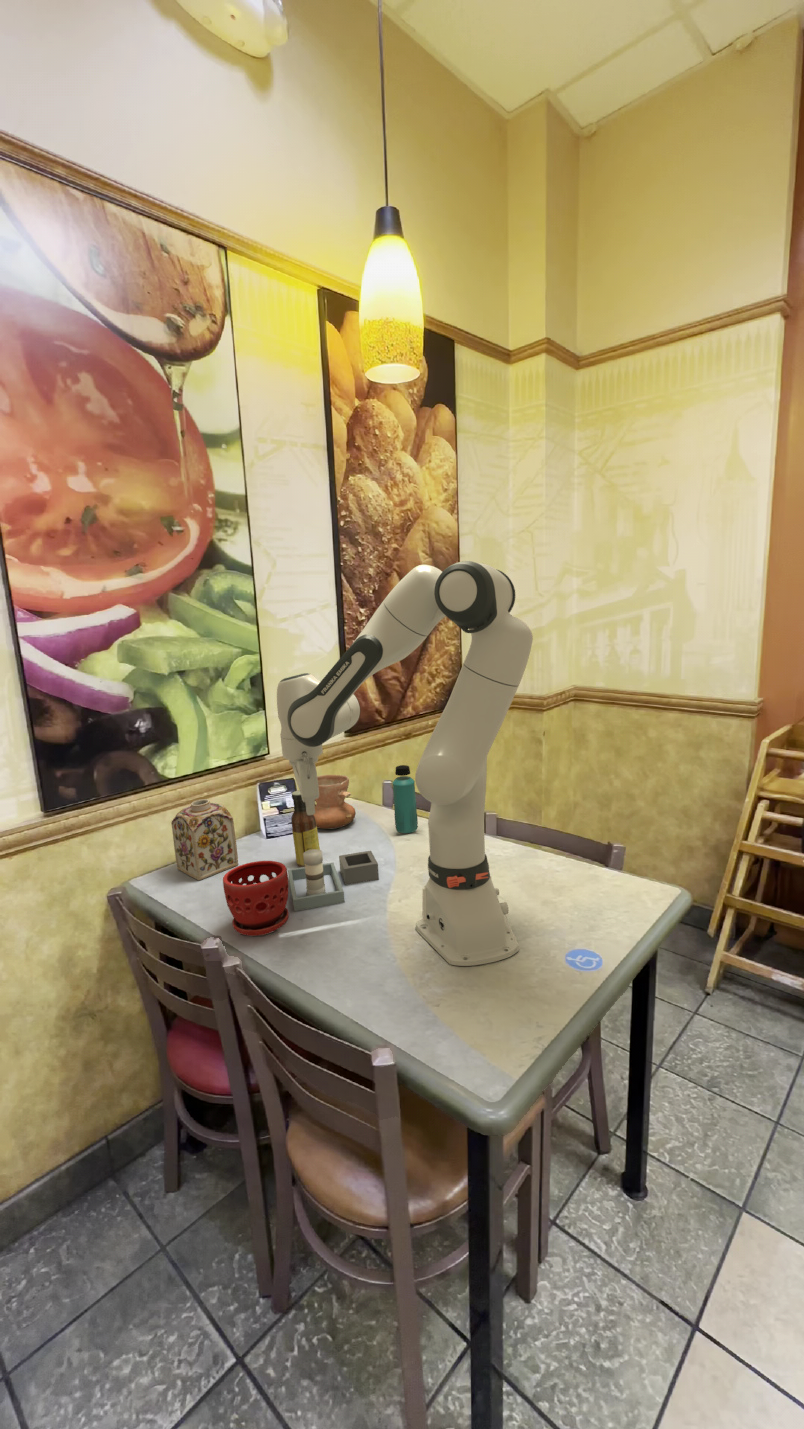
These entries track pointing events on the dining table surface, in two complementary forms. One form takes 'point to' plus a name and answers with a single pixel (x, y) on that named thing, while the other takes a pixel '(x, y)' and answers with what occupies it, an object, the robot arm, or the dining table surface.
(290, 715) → the robot arm
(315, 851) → the cylinder
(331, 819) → the ceramic jug
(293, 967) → the dining table surface
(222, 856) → the decorative jar
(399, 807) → the beverage bottle
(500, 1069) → the dining table surface
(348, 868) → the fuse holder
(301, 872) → the parts tray
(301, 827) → the sauce bottle
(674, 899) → the dining table surface
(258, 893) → the plant pot
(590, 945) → the dining table surface
